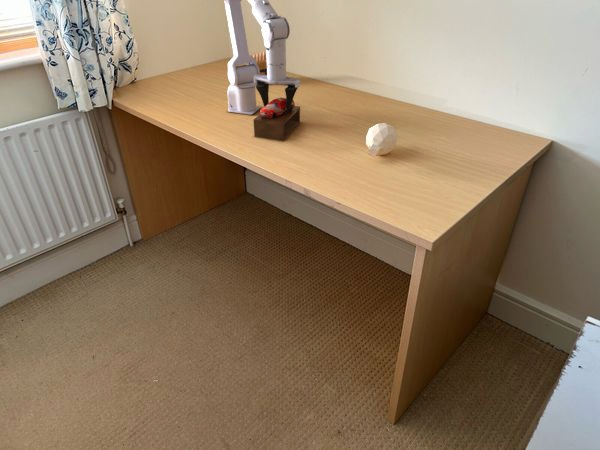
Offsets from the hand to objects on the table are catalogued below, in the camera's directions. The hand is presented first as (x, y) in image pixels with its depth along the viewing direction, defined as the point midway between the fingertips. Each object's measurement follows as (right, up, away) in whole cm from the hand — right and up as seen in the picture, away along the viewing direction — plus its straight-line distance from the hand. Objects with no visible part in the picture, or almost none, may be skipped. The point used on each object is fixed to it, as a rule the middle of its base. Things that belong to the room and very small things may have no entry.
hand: (277, 107), depth 136 cm
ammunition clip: (-11, +23, +46) cm, 53 cm away
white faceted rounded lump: (+29, -17, -11) cm, 35 cm away
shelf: (0, -6, +4) cm, 7 cm away
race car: (0, -1, +1) cm, 2 cm away
